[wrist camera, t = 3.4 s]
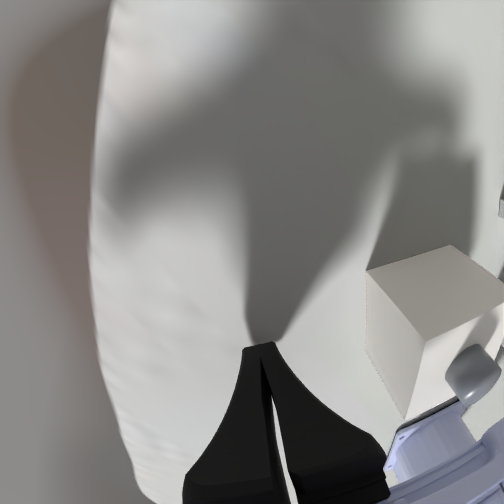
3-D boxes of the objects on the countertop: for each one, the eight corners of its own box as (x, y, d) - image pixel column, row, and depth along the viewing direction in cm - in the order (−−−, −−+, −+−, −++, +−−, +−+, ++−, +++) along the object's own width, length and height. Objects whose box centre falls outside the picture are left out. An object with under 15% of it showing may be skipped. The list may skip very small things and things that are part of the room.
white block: (438, 321, 15) (502, 396, 9) (364, 349, 15) (417, 446, 9) (449, 243, 13) (540, 314, 7) (364, 269, 13) (449, 372, 7)
